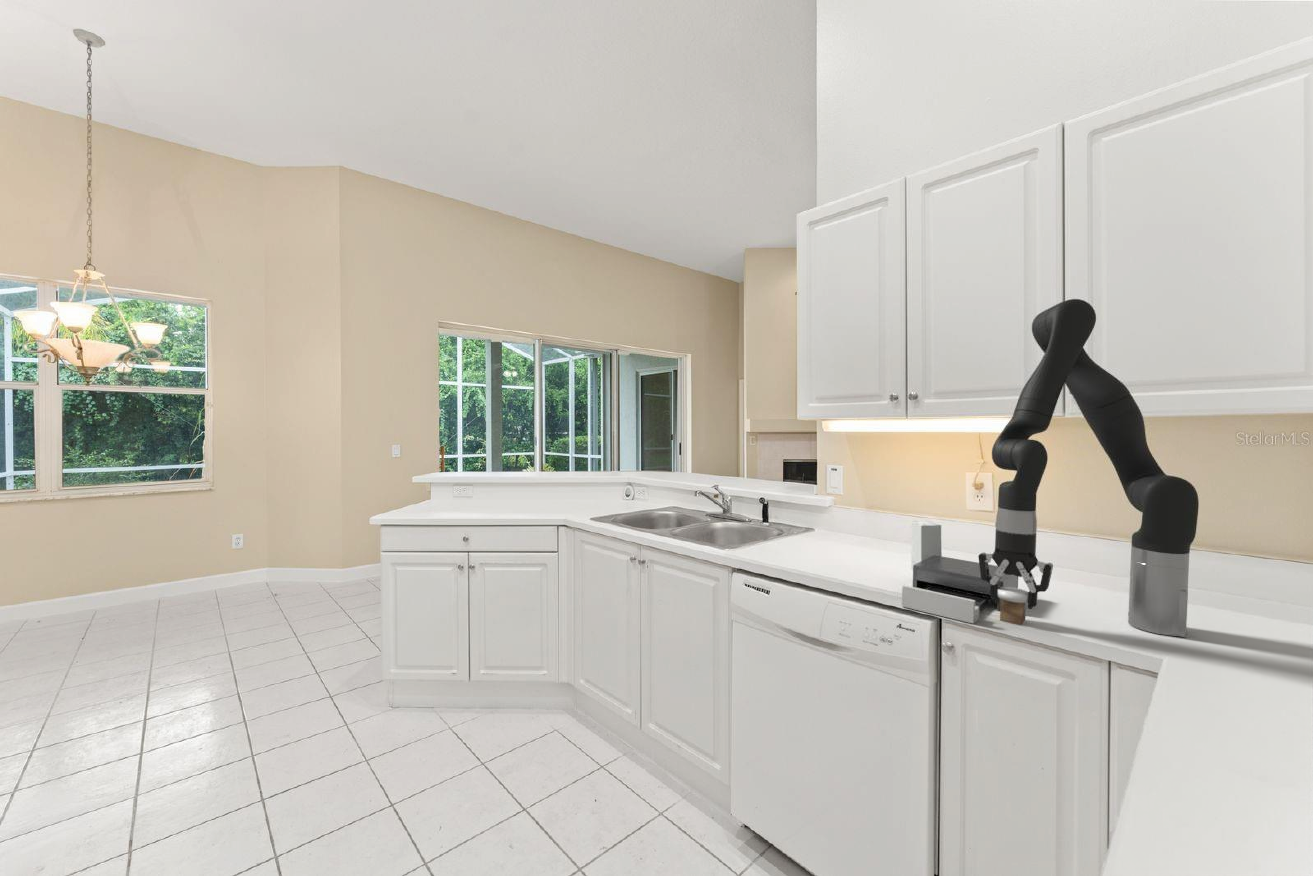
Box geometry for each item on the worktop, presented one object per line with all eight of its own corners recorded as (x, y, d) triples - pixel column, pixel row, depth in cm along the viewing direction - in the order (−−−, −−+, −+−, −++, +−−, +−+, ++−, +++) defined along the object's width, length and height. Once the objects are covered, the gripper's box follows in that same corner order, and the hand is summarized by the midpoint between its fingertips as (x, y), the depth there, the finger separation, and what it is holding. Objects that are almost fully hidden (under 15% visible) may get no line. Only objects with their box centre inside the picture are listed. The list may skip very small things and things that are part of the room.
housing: (1017, 597, 138) (1018, 569, 138) (1002, 611, 127) (1003, 582, 126) (933, 580, 152) (933, 555, 152) (912, 592, 141) (913, 565, 140)
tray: (993, 604, 131) (994, 585, 131) (973, 623, 118) (973, 601, 118) (927, 590, 141) (928, 572, 141) (901, 606, 129) (902, 586, 128)
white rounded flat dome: (1032, 598, 121) (1032, 591, 121) (1026, 604, 117) (1026, 597, 117) (1000, 592, 125) (1001, 585, 125) (994, 598, 121) (994, 590, 121)
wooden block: (1025, 620, 121) (1025, 598, 121) (1021, 625, 118) (1022, 602, 118) (1004, 616, 124) (1004, 594, 124) (999, 620, 121) (1000, 598, 121)
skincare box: (942, 577, 155) (943, 525, 154) (919, 576, 155) (921, 524, 155) (930, 569, 163) (931, 520, 163) (909, 568, 164) (910, 519, 163)
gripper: (1058, 532, 118) (1055, 609, 119) (983, 522, 128) (980, 593, 129) (1052, 536, 113) (1049, 617, 113) (974, 526, 123) (971, 600, 123)
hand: (1012, 604), depth 121 cm, fingers closed on white rounded flat dome, 6 cm apart
